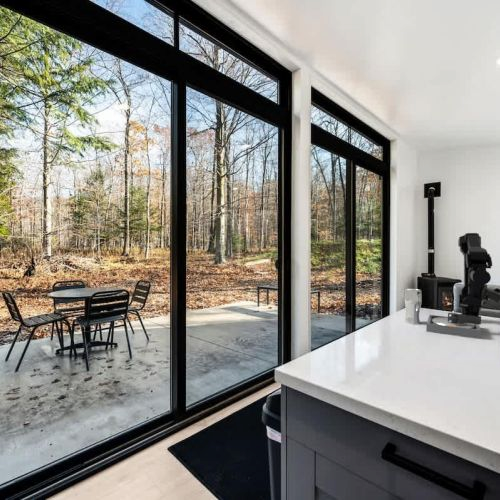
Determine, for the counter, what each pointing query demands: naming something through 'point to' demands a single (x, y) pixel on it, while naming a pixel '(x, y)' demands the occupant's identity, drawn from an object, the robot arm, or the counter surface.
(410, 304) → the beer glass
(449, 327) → the dial base
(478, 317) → the dial
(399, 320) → the counter surface
